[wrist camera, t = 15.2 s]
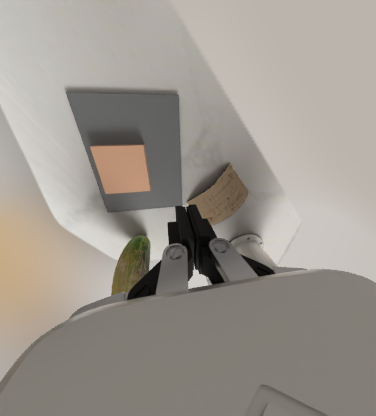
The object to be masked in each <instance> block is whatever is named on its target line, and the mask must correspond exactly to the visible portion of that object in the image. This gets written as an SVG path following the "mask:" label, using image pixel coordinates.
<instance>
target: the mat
mask: <svg viewBox="0 0 376 416" xmlns="http://www.w3.org/2000/svg"><path fill="white" fill-rule="evenodd" d="M66 94H67V97H68V100H69V103H70V106H71V109H72V111H73V114H74V117H75V120H76V123H77V126H78V129H79V131H80V134H81V137H82V140H83V143H84V146H85V149H86V152H87V154H88V157H89V160H90V163H91V166H92V169H93V172H94V174H95V177H96V180H97V183H98V186H99V189H100V192H101V195H102V197H103V200H104V203H105V206H106V209H107V212H119V211H130V210H141V209H152V208H163V207H174V206H181V205H182V186H181V156H180V126H179V95H158V94H118V93H79V92H66ZM121 144H145V150H146V156H147V163H148V170H149V176H150V183H151V190H150V191H142V192H128V193H114V194H105V191H104V188H103V185H102V182H101V179H100V176H99V173H98V170H97V167H96V164H95V161H94V158H93V155H92V152H91V148H90V146H94V145H121Z"/></svg>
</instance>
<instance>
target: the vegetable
mask: <svg viewBox="0 0 376 416" xmlns="http://www.w3.org/2000/svg"><path fill="white" fill-rule="evenodd" d="M149 261H150V241H149V239H148V238H147V237H146V236H143V235H139V236H136V237H134V238H133V239H131V240H130V241H129V243H128V244H127V245H126V247H125V248H124V250H123V252H122V254H121V256H120V258H119V260H118V263H117V266H116V269H115V273H114V278H113V284H112V294H111V296H112V295H115V294H117V293H120V292H123V291H124V293H126V292H128V291H130V290H131V288H132V287H133V286H134V285H135V284H136V283H137V282H138V281H139V280H140V279H142V278H143V277H144V276H145V275H146V274H147V273H148V272H149Z"/></svg>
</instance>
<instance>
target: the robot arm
mask: <svg viewBox="0 0 376 416" xmlns="http://www.w3.org/2000/svg"><path fill="white" fill-rule="evenodd" d="M175 209H176V222H168V236H169V246H167V247H166V248H165V249H164V252H163V256H162V260H161V261H160V262H159V263H158V264H157V265H155V266H154V267H153V268H152V269H151V270H150V271H149V272H148V273H147V274H146V275H145V276H144V277H143V278H142V279H140V280H139V281H138V282H137V283H136V284H135V285H134V286H133V287H132V288H131V290H130V291H128V292H126V293H124V291H123V292H120V293H117V294H115V295H112V296H110V297H107V298H104V299H102V300H99V301H96V302H94V303H91V304H88V305H86V306H84V307H82V308H80V309H78V310H77V311H76V312H74V313H73V314H72V316H71V317H70V318H69V319H68V320H66V321H65V322H63V323H61V324H59V325H57V326H56V327H54V328H52V329H51V330H49V331H48V332H46V333H45V334H44V335H42V336H41V337H40V338H38V339H37V340H36V341H35V342H34V343H32V344H31V346H29V347H28V349H26V350H25V351H24V353H23V354H22V355H21V356H20V357H19V358H18V359H17V361H16V362H15V363H14V364H13V366H12V367H11V368H10V370H9V371H8V372H7V373H6V375H5V376H4V378H3V379H2V380H1V382H0V416H376V283H375V282H373V281H371V280H369V279H367V278H365V277H363V276H359V275H356V274H352V273H349V272H344V271H338V270H329V269H310V270H308V269H303V268H286V267H278V266H277V265H276V264H275V263H274V262H273V260H272V259H271V258H270V257H269V256H268V255H267V253H266V252H265V251H264V250H263V247H264V243H263V241H262V239H261V238H260V237H259V236H257V235H254V234H247V235H242V236H240V237H238V238H236V239H234V240H233V241H231V242H229V241H227V240H225V239H222V238H217V236H216V234H215V232H214V231H213V229H212V227H211V225H210V223H209V221H208V219H207V218H206V219H202V217H201V215H200V212H199V210H198V208H197V206H196V204H192V205H189V207H187V212H186V209H185V207H182V205H181V206H175ZM194 265H195V269H196V270H198V271H199V274H203V275H205V276H206V279H207V282H208V284H209V285H208V286H203V287H197V288H192V289H188V281H189V280H190V278H191V277H192V276H193V270H194Z"/></svg>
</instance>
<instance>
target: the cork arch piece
mask: <svg viewBox="0 0 376 416" xmlns="http://www.w3.org/2000/svg"><path fill="white" fill-rule="evenodd" d="M230 164H231V163H230ZM230 164H229V165H228V167H227V168H226V170H225V171H224V172H223V174H222V175H221V176H220V177H219V179H218V180H217V181H216V183H215V185H213V186H212V187H211V188H210V189H208V190H206V191H205V192H204V193H202V194H201V195H198V196H197V197H195V198H193V199H192V200H190V201H189V202H187V203H188V204H189V205H192V204H196V206H197V208H198V210H199V212H200V215H201V216H202V218H204V219H206V218H207V219H208V221H209V223H210V225H213V224H217V223H219V222H221V221H223V220H224V219H226V218H228V217H229V216H231V215H232V214H233V213H234V212H235V211H236V210H237V209H238V208H239V207H240V206H241V205H242V204H243V202H244V201H245V199H246V197H247V195H248V190H247V189H246V187H245V186H244V184H243V183H242V181H241V180H240V178H239V177H238V175H237V174H236V172H235V171H234V170H233V168H232V166H231V165H230Z"/></svg>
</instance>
